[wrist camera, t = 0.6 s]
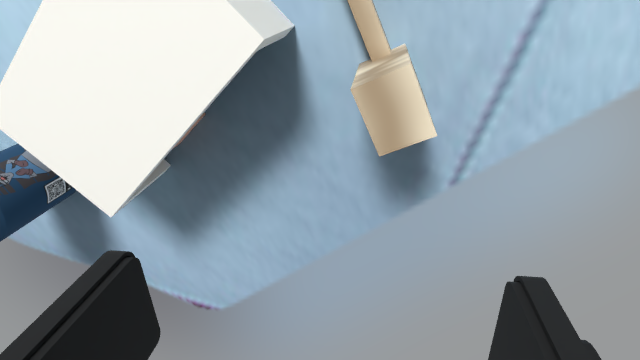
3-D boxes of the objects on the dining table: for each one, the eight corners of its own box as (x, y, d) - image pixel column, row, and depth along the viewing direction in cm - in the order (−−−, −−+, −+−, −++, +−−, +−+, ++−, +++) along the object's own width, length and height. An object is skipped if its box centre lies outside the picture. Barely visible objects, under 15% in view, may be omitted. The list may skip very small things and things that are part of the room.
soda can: (33, 183, 44) (-79, 246, 33) (22, 127, 41) (-106, 177, 30) (90, 197, 44) (-5, 265, 33) (84, 141, 40) (-24, 197, 30)
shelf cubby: (181, -95, 29) (105, -125, 21) (294, 25, 32) (264, 39, 24) (68, 88, 38) (-16, 116, 30) (165, 172, 41) (111, 217, 33)
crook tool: (344, -125, 27) (326, -171, 19) (425, 99, 33) (437, 135, 25) (257, -71, 29) (209, -92, 21) (348, 129, 35) (337, 171, 27)
